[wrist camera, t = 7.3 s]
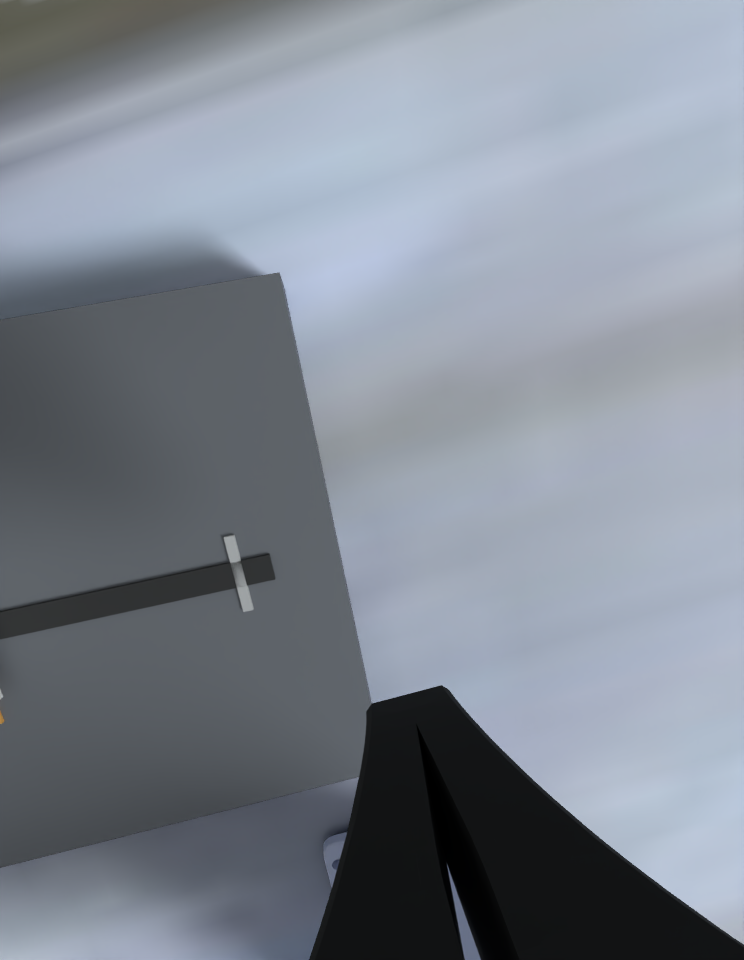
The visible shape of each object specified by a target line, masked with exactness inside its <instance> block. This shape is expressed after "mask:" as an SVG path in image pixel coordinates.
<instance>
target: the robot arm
mask: <svg viewBox="0 0 744 960" xmlns="http://www.w3.org/2000/svg"><path fill="white" fill-rule="evenodd" d="M323 857H324V861H325V865H326V869H327V872H328V876H329V880H330V884H331V888H332V890H331V893H330V896H329V900H328V903H327V906H326V909H325V913H324V916H323V919H322V922H321V926H320V929H319V932H318V935H317V938H316V941H315V944H314V947H313V950H312V953H311V956H310V959H309V960H744V945H743V944H742V943H740V942H739V941H737V940H736V939H734V938H733V937H731V936H730V935H729V934H727V933H726V932H724V931H723V930H721V929H720V928H719V927H717V926H716V925H714V924H713V923H712V922H710V921H709V920H707V919H706V918H705V917H703V916H702V915H701V914H699V913H698V912H696V911H695V910H694V909H692V908H691V907H689V906H688V905H687V904H685V903H684V902H682V901H681V900H680V899H678V898H677V897H676V896H674V895H673V894H671V893H670V892H669V891H667V890H666V889H665V888H663V887H662V886H661V885H659V884H658V883H657V882H655V881H654V880H653V879H651V878H650V877H649V876H647V875H646V874H645V873H644V872H642V871H641V870H640V869H638V868H637V867H636V866H634V865H633V864H632V863H630V862H629V861H628V860H626V859H625V858H624V857H623V856H621V855H620V854H619V853H618V852H616V851H615V850H614V849H613V848H611V847H610V846H609V845H608V844H606V843H605V842H604V841H603V840H602V839H600V838H599V837H598V836H597V835H595V834H594V833H593V832H592V831H591V830H589V829H588V828H587V827H586V826H585V825H583V824H582V823H581V822H580V821H579V820H578V819H576V818H575V817H574V816H573V815H572V814H571V813H570V812H568V811H567V810H566V809H565V808H564V807H563V806H561V805H560V804H559V803H558V802H557V801H556V800H555V799H553V798H552V797H551V796H550V795H549V794H548V793H547V792H546V791H545V790H543V789H542V788H541V787H540V786H539V785H538V784H537V783H536V782H535V781H534V780H533V779H532V778H530V777H529V776H528V775H527V774H526V773H525V772H524V771H523V770H522V769H521V768H520V767H519V766H518V765H517V764H516V763H515V762H514V761H513V760H512V759H511V758H510V757H509V756H508V755H507V754H506V753H505V752H504V751H503V750H502V749H501V748H500V747H499V746H498V745H497V744H496V743H495V742H494V741H493V740H492V739H491V738H490V737H489V736H488V735H487V734H486V733H485V732H484V731H483V730H482V729H481V727H480V726H479V725H478V724H477V723H476V722H475V721H474V720H473V719H472V718H471V716H470V715H469V714H468V713H467V712H466V711H465V710H464V708H463V707H462V706H461V705H460V704H459V702H458V701H457V700H456V699H455V697H454V696H453V695H452V693H451V692H450V691H449V690H448V689H447V688H445V687H443V686H442V685H441V686H437V687H433V688H430V689H426V690H422V691H418V692H414V693H411V694H407V695H403V696H399V697H396V698H392V699H388V700H384V701H381V702H377V703H373V704H371V705H370V707H369V708H368V710H367V711H366V734H365V743H364V751H363V757H362V764H361V770H360V776H359V780H358V785H357V790H356V795H355V799H354V804H353V809H352V814H351V818H350V822H349V827H348V831H347V832H345V833H341V834H337V835H333V836H331V837H329V838H328V839H327V840H326V841H325V842H324V844H323ZM337 859H340V860H337Z"/></svg>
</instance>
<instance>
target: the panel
mask: <svg viewBox="0 0 744 960" xmlns="http://www.w3.org/2000/svg"><path fill="white" fill-rule="evenodd" d="M0 690H1V692H2V695H3V697H2V698H1V699H0V868H1V867H5V866H9V865H13V864H17V863H21V862H25V861H29V860H33V859H37V858H41V857H45V856H49V855H52V854H56V853H60V852H64V851H68V850H72V849H76V848H80V847H84V846H88V845H92V844H96V843H100V842H104V841H108V840H112V839H116V838H120V837H124V836H127V835H131V834H135V833H139V832H143V831H147V830H151V829H155V828H159V827H163V826H167V825H171V824H175V823H179V822H183V821H187V820H191V819H195V818H198V817H202V816H206V815H210V814H214V813H218V812H222V811H226V810H230V809H234V808H238V807H242V806H246V805H250V804H254V803H258V802H262V801H266V800H270V799H273V798H277V797H281V796H285V795H289V794H293V793H297V792H301V791H305V790H309V789H313V788H317V787H321V786H325V785H329V784H333V783H337V782H341V781H344V780H348V779H352V778H356V777H359V776H360V770H361V764H362V757H363V751H364V743H365V734H366V711H367V710H368V708H369V707H370V705H371V704H372V703H371V698H370V693H369V688H368V684H367V679H366V674H365V669H364V665H363V660H362V655H361V650H360V646H359V641H358V636H357V631H356V627H355V622H354V617H353V612H352V608H351V603H350V598H349V593H348V589H347V584H346V579H345V574H344V570H343V565H342V560H341V555H340V551H339V546H338V541H337V536H336V532H335V527H334V522H333V517H332V513H331V508H330V503H329V498H328V494H327V489H326V484H325V479H324V475H323V470H322V465H321V460H320V456H319V451H318V446H317V441H316V437H315V432H314V427H313V422H312V418H311V413H310V408H309V403H308V399H307V394H306V389H305V384H304V380H303V375H302V370H301V365H300V360H299V356H298V351H297V346H296V341H295V337H294V332H293V327H292V322H291V318H290V313H289V308H288V303H287V299H286V294H285V289H284V285H283V282H282V279H281V276H280V273H274V274H268V275H262V276H256V277H250V278H244V279H238V280H232V281H226V282H221V283H215V284H209V285H203V286H197V287H191V288H185V289H179V290H173V291H167V292H161V293H156V294H150V295H144V296H138V297H132V298H126V299H120V300H114V301H108V302H102V303H96V304H91V305H85V306H79V307H73V308H67V309H61V310H55V311H49V312H43V313H37V314H31V315H26V316H20V317H14V318H8V319H2V320H0Z"/></svg>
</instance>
